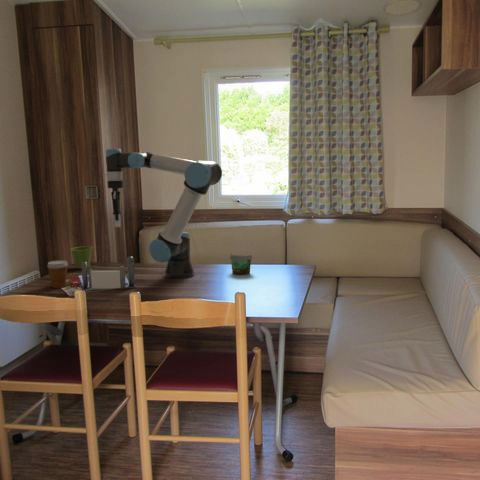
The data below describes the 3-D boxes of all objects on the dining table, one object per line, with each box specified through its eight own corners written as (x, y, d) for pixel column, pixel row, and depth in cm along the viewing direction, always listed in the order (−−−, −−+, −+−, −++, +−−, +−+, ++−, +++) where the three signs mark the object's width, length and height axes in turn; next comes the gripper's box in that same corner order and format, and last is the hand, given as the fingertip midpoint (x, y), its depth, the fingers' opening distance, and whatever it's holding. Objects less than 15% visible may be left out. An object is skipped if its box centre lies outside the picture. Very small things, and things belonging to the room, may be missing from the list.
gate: (88, 288, 245) (87, 267, 243) (90, 286, 248) (88, 266, 246) (124, 288, 244) (123, 267, 242) (126, 286, 247) (125, 266, 245)
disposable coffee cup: (63, 289, 247) (61, 264, 245) (44, 288, 249) (42, 264, 247) (73, 284, 256) (71, 260, 254) (55, 283, 258) (53, 259, 256)
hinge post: (90, 287, 249) (88, 261, 246) (89, 289, 245) (87, 262, 243) (82, 288, 248) (80, 261, 246) (81, 290, 245) (79, 263, 242)
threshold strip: (127, 286, 250) (127, 285, 250) (126, 288, 247) (126, 287, 247) (91, 288, 248) (91, 287, 248) (90, 289, 245) (90, 289, 245)
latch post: (136, 285, 251) (134, 255, 248) (135, 287, 247) (133, 256, 245) (128, 286, 250) (126, 255, 248) (127, 288, 247) (126, 257, 244)
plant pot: (84, 264, 300) (83, 245, 298) (98, 267, 293) (96, 247, 291) (67, 268, 291) (65, 248, 289) (80, 271, 284) (79, 250, 282)
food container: (226, 274, 271) (225, 255, 269) (230, 271, 277) (230, 253, 275) (248, 276, 266) (247, 257, 265) (252, 273, 272) (252, 254, 270)
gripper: (109, 179, 266) (111, 225, 270) (105, 181, 253) (108, 228, 257) (124, 179, 267) (126, 224, 271) (121, 180, 254) (123, 228, 258)
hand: (117, 226), depth 264 cm, fingers closed
